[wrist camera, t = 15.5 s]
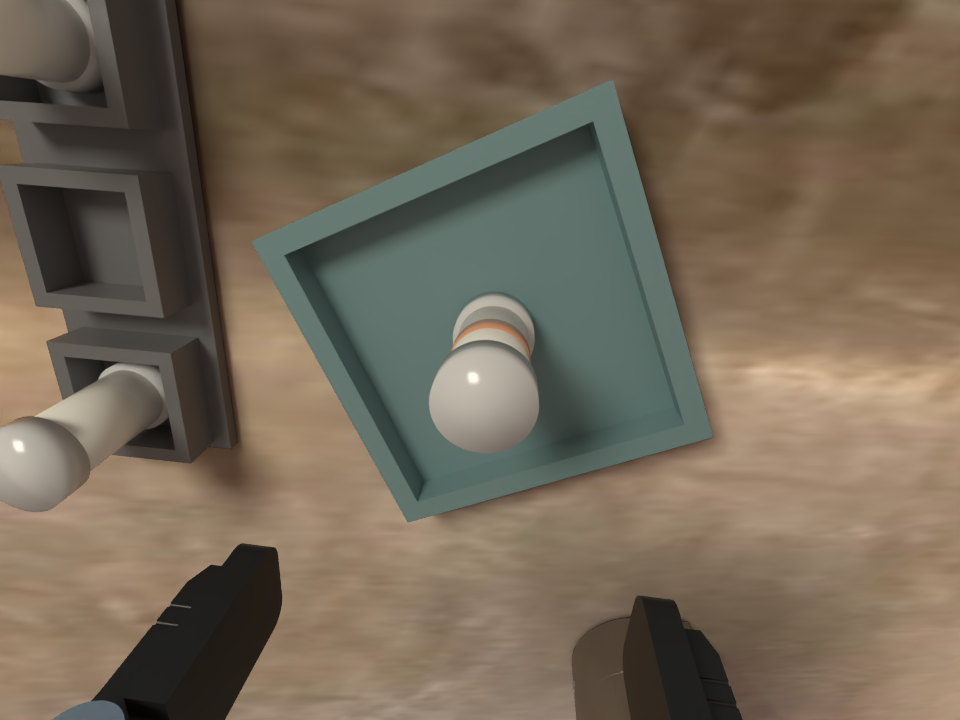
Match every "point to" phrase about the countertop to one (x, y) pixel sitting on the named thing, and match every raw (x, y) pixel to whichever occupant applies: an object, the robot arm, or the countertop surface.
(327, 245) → the tray
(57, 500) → the peg
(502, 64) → the countertop surface
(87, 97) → the block
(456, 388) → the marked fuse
